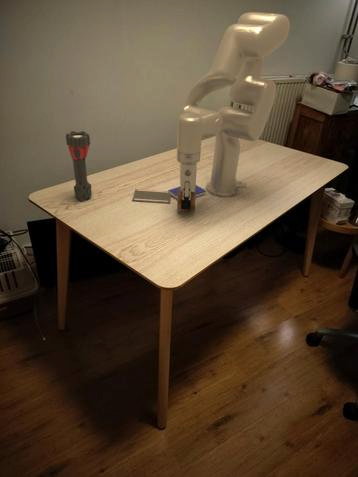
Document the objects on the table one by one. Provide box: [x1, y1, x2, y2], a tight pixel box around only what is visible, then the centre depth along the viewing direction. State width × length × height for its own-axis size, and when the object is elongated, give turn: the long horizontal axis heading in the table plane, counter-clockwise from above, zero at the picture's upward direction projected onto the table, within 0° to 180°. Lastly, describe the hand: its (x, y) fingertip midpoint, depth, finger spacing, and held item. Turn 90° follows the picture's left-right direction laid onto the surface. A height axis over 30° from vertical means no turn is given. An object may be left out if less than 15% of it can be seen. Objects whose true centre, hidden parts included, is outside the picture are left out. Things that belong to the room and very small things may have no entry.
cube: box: [176, 186, 196, 212], centre depth 114 cm, size 6×6×6 cm
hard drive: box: [167, 184, 207, 200], centre depth 127 cm, size 2×8×12 cm
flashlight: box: [65, 130, 92, 202], centre depth 115 cm, size 8×8×23 cm
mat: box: [131, 188, 172, 205], centre depth 124 cm, size 14×9×1 cm, turn 89°
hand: (185, 203), depth 115 cm, fingers closed on cube, 6 cm apart
